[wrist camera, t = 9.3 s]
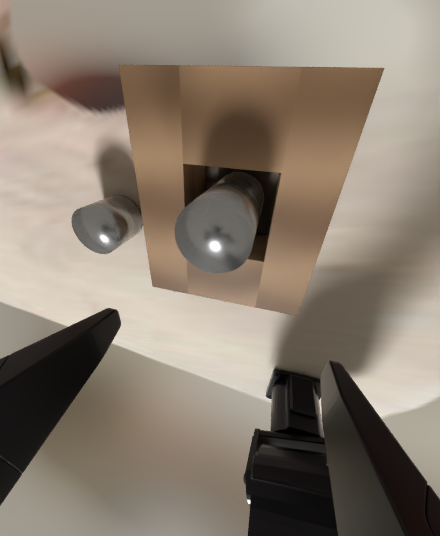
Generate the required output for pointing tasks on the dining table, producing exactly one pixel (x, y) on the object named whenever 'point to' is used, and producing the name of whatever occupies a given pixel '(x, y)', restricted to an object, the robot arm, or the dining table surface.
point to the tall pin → (221, 224)
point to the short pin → (107, 223)
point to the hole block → (245, 164)
